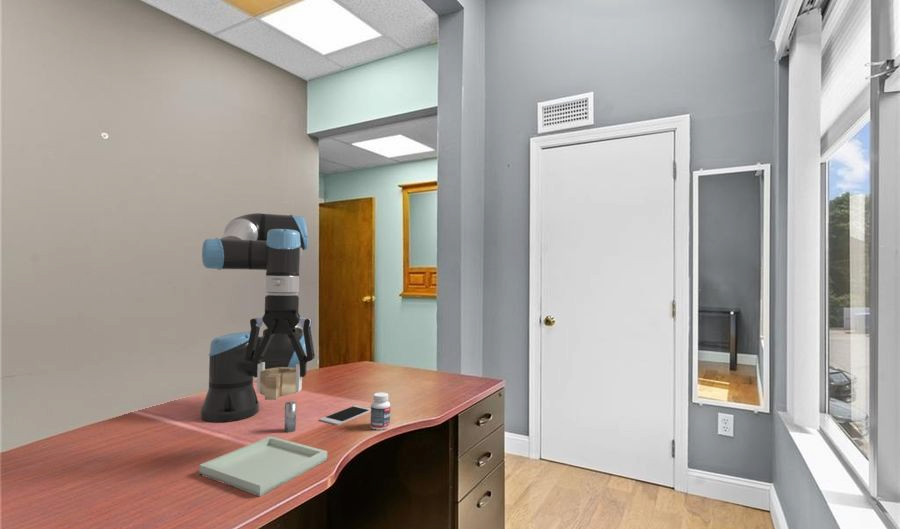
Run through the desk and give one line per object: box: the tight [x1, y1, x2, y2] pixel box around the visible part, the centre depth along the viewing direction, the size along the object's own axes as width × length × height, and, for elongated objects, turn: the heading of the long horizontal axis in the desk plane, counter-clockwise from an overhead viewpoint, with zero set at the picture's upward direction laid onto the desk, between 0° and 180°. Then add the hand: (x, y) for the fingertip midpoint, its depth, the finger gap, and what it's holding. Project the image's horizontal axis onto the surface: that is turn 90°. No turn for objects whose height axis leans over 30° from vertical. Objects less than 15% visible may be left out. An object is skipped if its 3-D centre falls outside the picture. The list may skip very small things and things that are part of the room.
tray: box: [198, 435, 328, 497], centre depth 94 cm, size 18×18×2 cm
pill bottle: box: [370, 391, 391, 431], centre depth 119 cm, size 5×5×9 cm
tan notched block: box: [259, 367, 297, 401], centre depth 101 cm, size 11×8×5 cm
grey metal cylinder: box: [283, 401, 297, 433], centre depth 115 cm, size 3×3×7 cm
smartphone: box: [319, 404, 371, 426], centre depth 128 cm, size 7×15×1 cm, turn 151°
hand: (279, 390), depth 102 cm, fingers closed on tan notched block, 8 cm apart
